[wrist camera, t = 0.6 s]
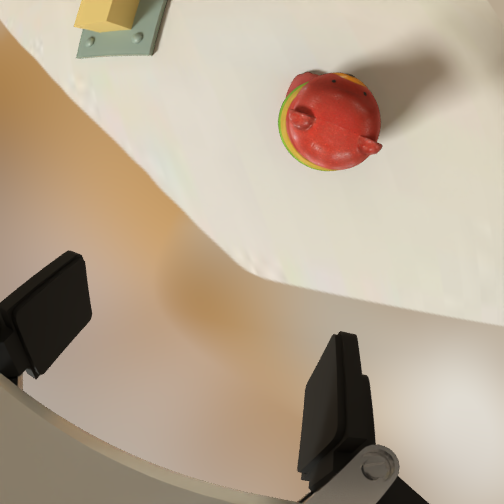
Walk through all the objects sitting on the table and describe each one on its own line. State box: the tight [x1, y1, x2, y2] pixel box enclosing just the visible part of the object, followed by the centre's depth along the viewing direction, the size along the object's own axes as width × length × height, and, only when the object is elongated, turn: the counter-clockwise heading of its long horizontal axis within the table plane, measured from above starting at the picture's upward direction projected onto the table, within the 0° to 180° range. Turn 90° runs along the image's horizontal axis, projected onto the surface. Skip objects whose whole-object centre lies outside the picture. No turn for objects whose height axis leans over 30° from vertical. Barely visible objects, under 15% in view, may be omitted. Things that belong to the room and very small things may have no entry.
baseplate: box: [76, 0, 167, 59], centre depth 28 cm, size 14×14×1 cm
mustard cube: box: [74, 0, 140, 33], centre depth 25 cm, size 6×6×6 cm
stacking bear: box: [278, 72, 382, 171], centre depth 24 cm, size 11×10×18 cm
